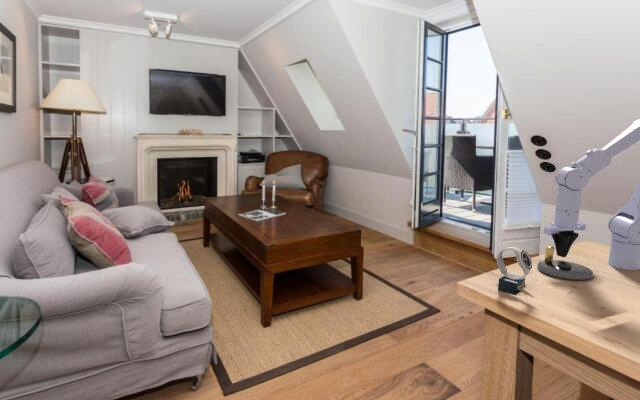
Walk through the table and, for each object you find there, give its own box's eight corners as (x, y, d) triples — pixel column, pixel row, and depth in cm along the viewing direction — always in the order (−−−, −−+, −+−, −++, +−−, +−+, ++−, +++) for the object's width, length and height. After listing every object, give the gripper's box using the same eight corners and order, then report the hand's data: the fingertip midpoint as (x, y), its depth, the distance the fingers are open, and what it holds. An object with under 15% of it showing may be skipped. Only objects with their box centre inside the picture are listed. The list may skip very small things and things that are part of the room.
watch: (523, 297, 99) (528, 254, 97) (490, 288, 104) (494, 246, 102) (532, 291, 103) (537, 249, 100) (500, 282, 108) (503, 242, 106)
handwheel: (604, 276, 108) (606, 256, 107) (569, 283, 103) (572, 263, 102) (559, 260, 120) (561, 242, 119) (526, 266, 115) (528, 248, 114)
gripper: (572, 205, 121) (566, 248, 124) (536, 209, 116) (531, 254, 119) (595, 210, 115) (589, 256, 117) (558, 214, 109) (552, 262, 112)
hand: (561, 256), depth 118 cm, fingers closed
